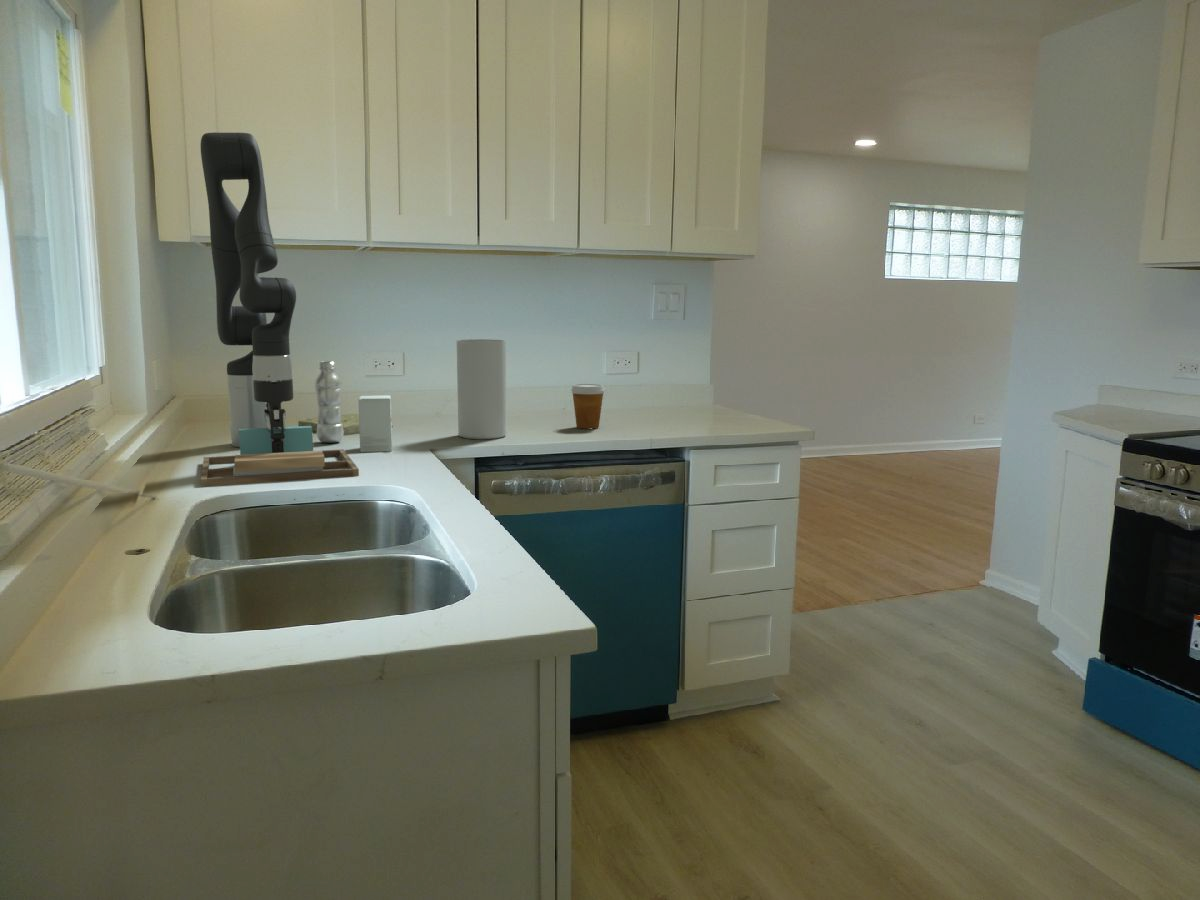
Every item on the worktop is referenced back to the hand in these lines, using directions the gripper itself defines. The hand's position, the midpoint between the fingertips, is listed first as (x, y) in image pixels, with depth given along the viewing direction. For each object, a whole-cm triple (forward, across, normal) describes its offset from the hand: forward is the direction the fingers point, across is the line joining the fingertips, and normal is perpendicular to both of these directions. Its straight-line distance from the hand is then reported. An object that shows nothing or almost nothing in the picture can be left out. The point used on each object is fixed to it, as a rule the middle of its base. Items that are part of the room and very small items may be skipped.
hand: (277, 455), depth 177 cm
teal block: (+3, 0, 0) cm, 3 cm away
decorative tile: (+4, -56, +21) cm, 60 cm away
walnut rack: (+3, +4, 0) cm, 5 cm away
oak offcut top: (0, +12, 0) cm, 12 cm away
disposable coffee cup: (+3, -35, +84) cm, 91 cm away
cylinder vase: (+3, -30, +52) cm, 60 cm away
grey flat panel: (+2, +12, 0) cm, 12 cm away
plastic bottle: (+3, -33, +14) cm, 36 cm away
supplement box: (+3, -19, +23) cm, 30 cm away
